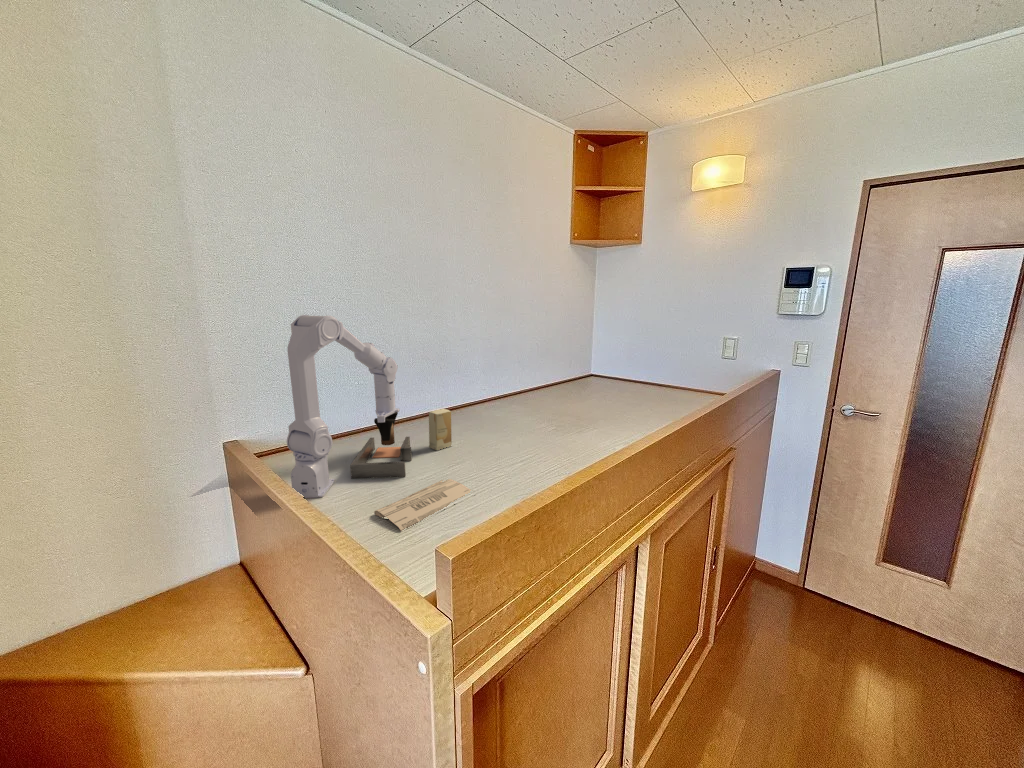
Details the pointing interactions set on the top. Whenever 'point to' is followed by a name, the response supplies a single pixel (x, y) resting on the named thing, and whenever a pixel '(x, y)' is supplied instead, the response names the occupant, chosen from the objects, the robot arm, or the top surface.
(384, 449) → the pad
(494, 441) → the top surface
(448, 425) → the skincare box
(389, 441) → the brown cylinder
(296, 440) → the robot arm
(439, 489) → the newspaper
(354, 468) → the rail channel
